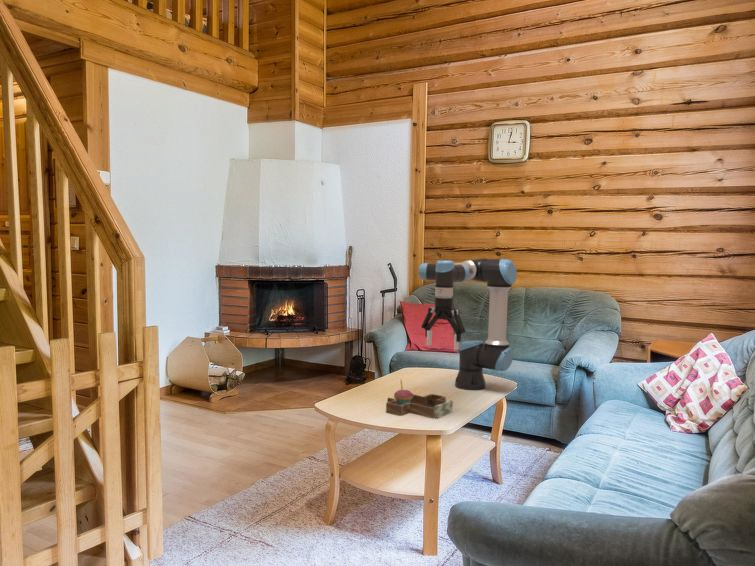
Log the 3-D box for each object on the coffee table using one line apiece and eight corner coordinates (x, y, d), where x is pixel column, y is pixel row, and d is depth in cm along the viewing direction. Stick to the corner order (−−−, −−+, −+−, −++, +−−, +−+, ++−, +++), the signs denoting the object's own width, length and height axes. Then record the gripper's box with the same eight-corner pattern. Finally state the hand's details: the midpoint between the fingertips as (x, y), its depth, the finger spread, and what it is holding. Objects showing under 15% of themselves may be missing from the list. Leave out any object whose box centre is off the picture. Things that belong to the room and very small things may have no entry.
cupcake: (389, 405, 263) (390, 378, 262) (402, 402, 269) (403, 375, 268) (404, 409, 257) (404, 382, 256) (417, 406, 263) (418, 379, 262)
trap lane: (412, 398, 275) (413, 387, 275) (460, 409, 260) (460, 397, 260) (378, 410, 255) (378, 398, 255) (426, 422, 239) (427, 410, 239)
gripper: (414, 295, 255) (413, 344, 257) (465, 300, 240) (463, 352, 241) (424, 294, 261) (423, 342, 263) (474, 299, 246) (472, 350, 247)
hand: (442, 347), depth 252 cm, fingers open, 13 cm apart
